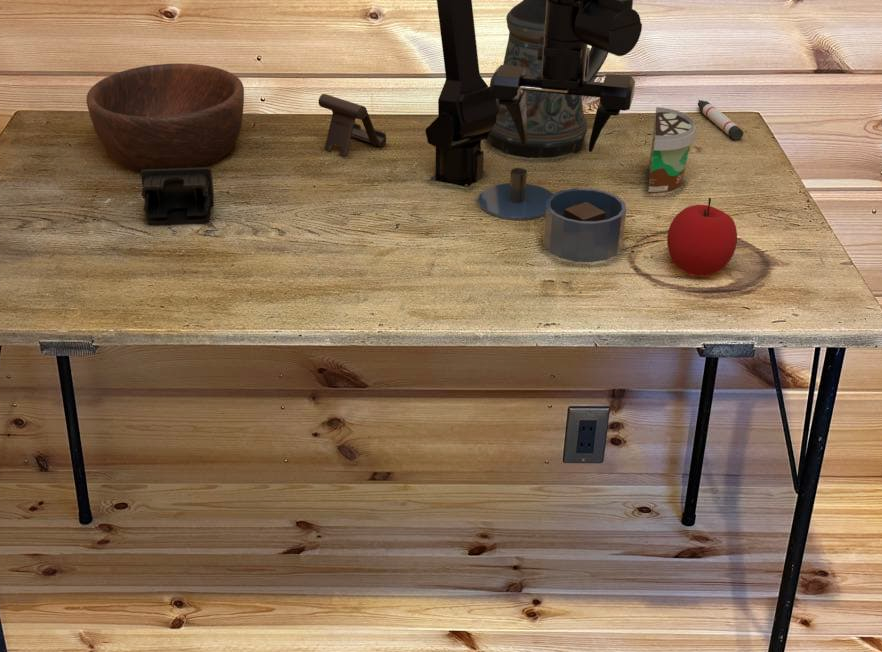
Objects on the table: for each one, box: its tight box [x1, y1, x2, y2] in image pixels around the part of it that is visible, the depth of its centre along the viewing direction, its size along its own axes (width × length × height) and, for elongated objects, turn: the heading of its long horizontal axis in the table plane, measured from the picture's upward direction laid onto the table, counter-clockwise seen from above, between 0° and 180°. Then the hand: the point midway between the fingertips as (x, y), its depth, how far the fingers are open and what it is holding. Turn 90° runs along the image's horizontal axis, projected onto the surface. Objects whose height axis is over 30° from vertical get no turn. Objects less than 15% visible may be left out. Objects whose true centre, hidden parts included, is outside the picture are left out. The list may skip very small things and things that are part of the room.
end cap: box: [140, 166, 215, 226], centre depth 174 cm, size 10×7×7 cm
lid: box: [477, 167, 554, 221], centre depth 175 cm, size 12×12×6 cm
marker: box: [697, 99, 744, 141], centre depth 200 cm, size 15×2×2 cm, turn 12°
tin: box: [542, 187, 627, 263], centre depth 164 cm, size 11×11×6 cm
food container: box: [647, 106, 697, 194], centre depth 179 cm, size 12×6×10 cm, turn 168°
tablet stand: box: [318, 93, 387, 157], centre depth 193 cm, size 9×8×8 cm
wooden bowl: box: [85, 63, 245, 172], centre depth 192 cm, size 25×25×10 cm
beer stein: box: [487, 0, 609, 159], centre depth 189 cm, size 16×19×25 cm
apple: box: [666, 197, 738, 277], centre depth 157 cm, size 9×9×10 cm
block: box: [564, 202, 606, 221], centre depth 164 cm, size 4×4×5 cm
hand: (557, 147), depth 163 cm, fingers open, 9 cm apart
